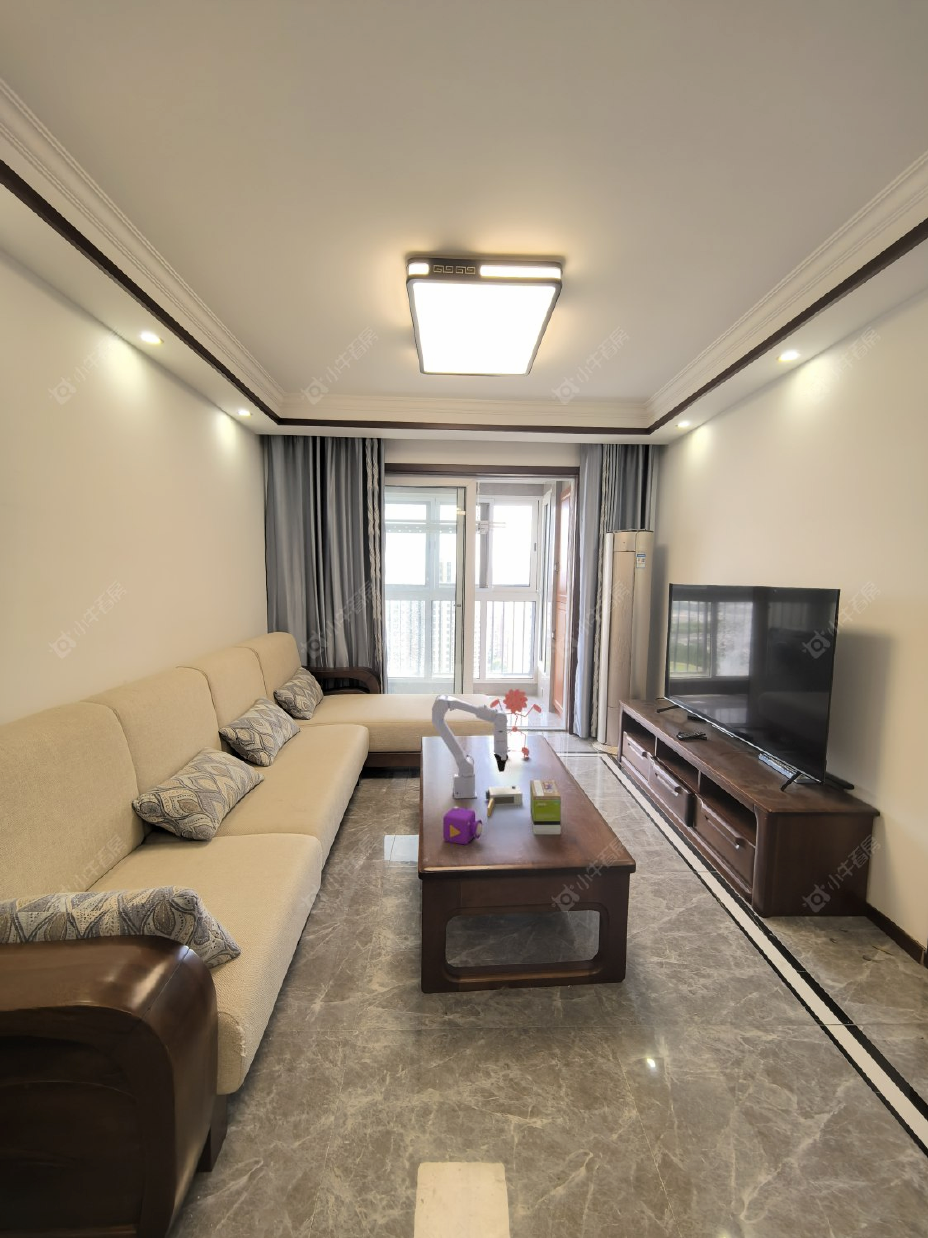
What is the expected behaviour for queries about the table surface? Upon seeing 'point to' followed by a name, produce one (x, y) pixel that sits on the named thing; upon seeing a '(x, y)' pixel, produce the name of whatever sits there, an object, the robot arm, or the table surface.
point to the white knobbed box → (504, 795)
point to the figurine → (516, 709)
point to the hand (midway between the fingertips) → (501, 771)
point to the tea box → (545, 807)
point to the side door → (490, 807)
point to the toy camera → (461, 826)
